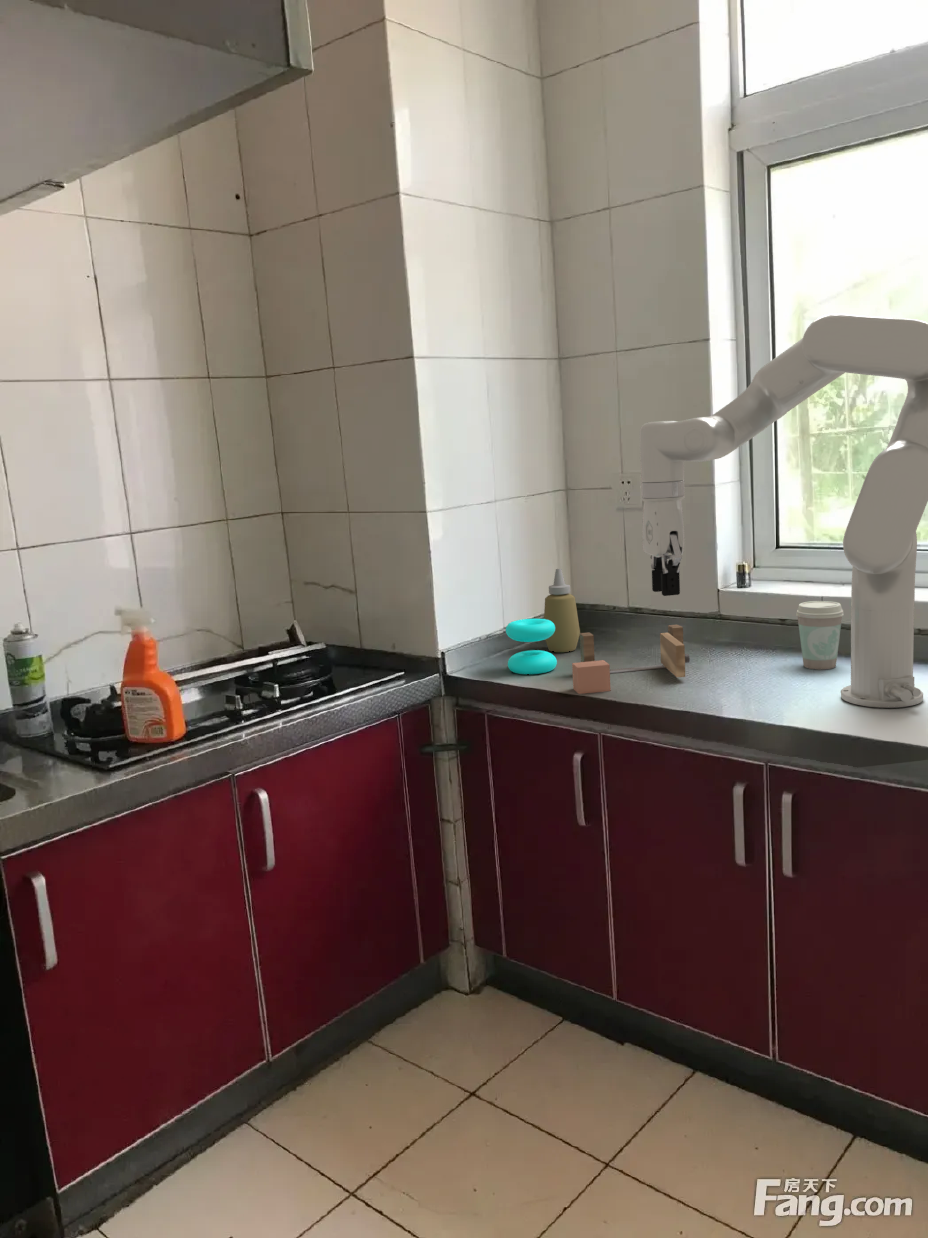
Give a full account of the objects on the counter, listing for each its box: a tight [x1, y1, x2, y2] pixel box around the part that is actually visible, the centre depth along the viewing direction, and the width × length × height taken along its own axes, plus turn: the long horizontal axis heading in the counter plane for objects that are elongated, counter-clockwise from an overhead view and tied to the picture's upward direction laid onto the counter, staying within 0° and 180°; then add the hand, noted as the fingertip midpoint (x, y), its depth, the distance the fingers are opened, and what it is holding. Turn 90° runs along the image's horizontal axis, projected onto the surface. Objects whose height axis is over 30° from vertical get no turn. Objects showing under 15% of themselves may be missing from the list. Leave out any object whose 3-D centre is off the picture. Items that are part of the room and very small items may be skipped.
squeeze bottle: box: [543, 568, 581, 653], centre depth 217 cm, size 8×8×18 cm
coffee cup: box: [795, 600, 845, 671], centre depth 189 cm, size 9×8×12 cm
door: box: [659, 632, 691, 678], centre depth 190 cm, size 3×12×6 cm, turn 2°
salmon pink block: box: [571, 659, 611, 695], centre depth 183 cm, size 4×6×5 cm, turn 97°
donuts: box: [505, 618, 558, 675], centre depth 201 cm, size 10×10×10 cm
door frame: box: [579, 624, 684, 675], centre depth 196 cm, size 3×20×8 cm, turn 98°
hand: (665, 592), depth 180 cm, fingers open, 4 cm apart
